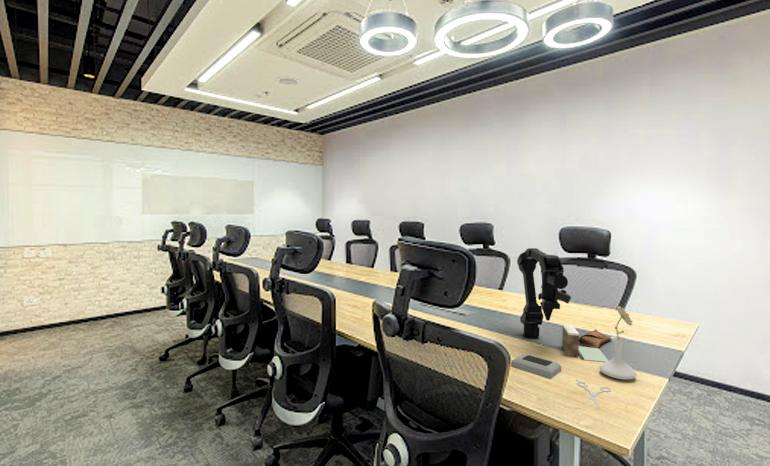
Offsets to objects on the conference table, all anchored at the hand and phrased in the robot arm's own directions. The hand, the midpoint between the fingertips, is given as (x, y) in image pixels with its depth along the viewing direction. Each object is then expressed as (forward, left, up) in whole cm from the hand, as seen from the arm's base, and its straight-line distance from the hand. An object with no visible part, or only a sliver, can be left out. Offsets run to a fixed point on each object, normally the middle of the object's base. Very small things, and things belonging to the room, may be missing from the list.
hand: (547, 320), depth 159 cm
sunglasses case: (+23, +17, -13) cm, 31 cm away
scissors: (+8, -40, -14) cm, 43 cm away
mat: (+17, 0, -13) cm, 21 cm away
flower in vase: (+21, -20, -13) cm, 32 cm away
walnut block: (+9, 0, -13) cm, 16 cm away
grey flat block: (-7, -23, -13) cm, 28 cm away
